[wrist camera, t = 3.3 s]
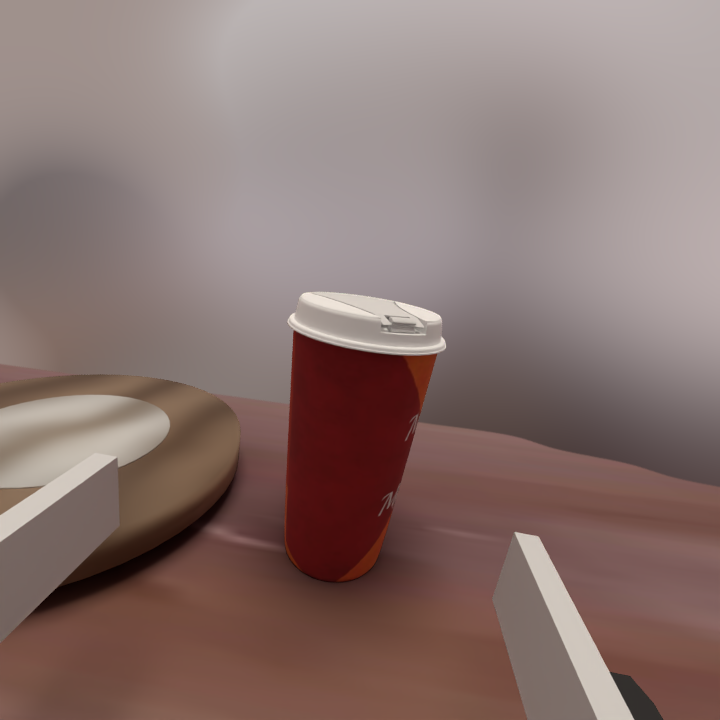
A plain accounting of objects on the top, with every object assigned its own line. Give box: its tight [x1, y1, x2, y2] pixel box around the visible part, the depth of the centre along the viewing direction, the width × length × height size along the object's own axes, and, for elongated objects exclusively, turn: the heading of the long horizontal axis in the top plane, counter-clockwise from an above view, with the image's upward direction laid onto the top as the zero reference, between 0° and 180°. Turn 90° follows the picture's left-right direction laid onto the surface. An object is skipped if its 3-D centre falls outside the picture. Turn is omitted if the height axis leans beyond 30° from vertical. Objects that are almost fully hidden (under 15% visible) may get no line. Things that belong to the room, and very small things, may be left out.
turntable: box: [0, 375, 241, 587], centre depth 23 cm, size 20×20×2 cm
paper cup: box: [285, 292, 446, 582], centre depth 20 cm, size 8×8×14 cm
